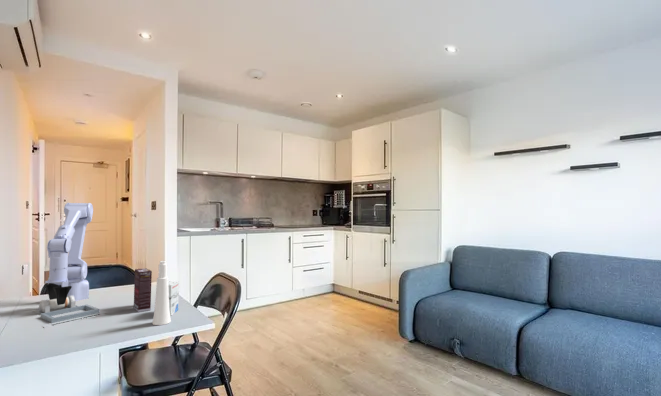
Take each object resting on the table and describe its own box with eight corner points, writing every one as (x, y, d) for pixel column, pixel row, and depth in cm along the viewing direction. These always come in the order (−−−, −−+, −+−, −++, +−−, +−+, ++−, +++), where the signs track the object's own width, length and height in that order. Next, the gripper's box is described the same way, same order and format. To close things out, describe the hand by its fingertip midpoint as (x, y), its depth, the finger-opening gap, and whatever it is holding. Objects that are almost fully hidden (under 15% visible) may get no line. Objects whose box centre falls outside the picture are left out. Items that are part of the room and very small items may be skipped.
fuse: (69, 304, 143) (70, 293, 143) (74, 308, 141) (75, 297, 141) (39, 310, 135) (40, 298, 135) (43, 314, 133) (44, 302, 132)
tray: (86, 310, 140) (87, 304, 140) (99, 314, 134) (99, 309, 134) (40, 319, 128) (40, 313, 128) (51, 325, 121) (51, 318, 121)
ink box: (166, 310, 141) (166, 280, 141) (178, 309, 141) (179, 280, 141) (157, 316, 132) (158, 285, 132) (170, 316, 132) (171, 285, 133)
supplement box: (151, 310, 140) (152, 270, 141) (138, 312, 137) (138, 272, 138) (146, 305, 147) (146, 267, 147) (133, 307, 144) (134, 269, 144)
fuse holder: (71, 305, 146) (71, 297, 146) (81, 309, 141) (81, 300, 141) (32, 313, 135) (32, 303, 135) (41, 317, 130) (41, 308, 130)
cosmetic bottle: (168, 324, 123) (169, 262, 123) (149, 325, 121) (151, 262, 122) (172, 319, 128) (173, 259, 129) (155, 320, 127) (156, 260, 128)
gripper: (39, 268, 139) (38, 302, 139) (53, 271, 131) (51, 308, 131) (60, 265, 145) (59, 298, 145) (75, 269, 137) (73, 304, 136)
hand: (57, 303), depth 138 cm, fingers open, 7 cm apart
